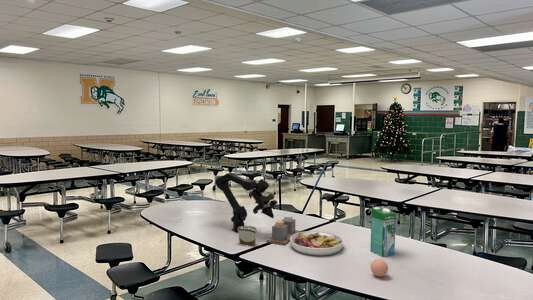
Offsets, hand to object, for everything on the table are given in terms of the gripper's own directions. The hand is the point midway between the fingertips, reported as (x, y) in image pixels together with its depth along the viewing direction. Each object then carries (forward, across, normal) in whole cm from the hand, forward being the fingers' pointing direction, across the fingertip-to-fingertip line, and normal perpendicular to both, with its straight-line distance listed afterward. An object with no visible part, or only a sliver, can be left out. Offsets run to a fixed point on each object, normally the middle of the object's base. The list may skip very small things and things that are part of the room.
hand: (273, 217), depth 222 cm
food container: (+5, -16, +14) cm, 21 cm away
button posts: (+11, +7, +6) cm, 14 cm away
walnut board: (+12, +7, +7) cm, 15 cm away
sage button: (+4, +13, +2) cm, 14 cm away
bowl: (+29, +4, -9) cm, 31 cm away
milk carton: (+53, +19, -33) cm, 65 cm away
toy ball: (+60, -11, -39) cm, 72 cm away
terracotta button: (+6, 0, 0) cm, 6 cm away
